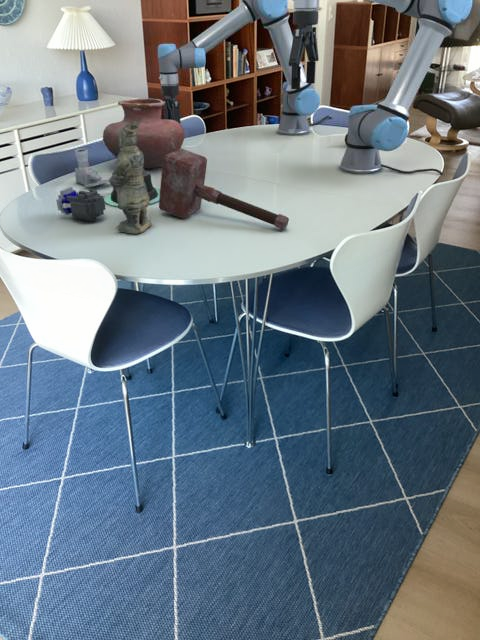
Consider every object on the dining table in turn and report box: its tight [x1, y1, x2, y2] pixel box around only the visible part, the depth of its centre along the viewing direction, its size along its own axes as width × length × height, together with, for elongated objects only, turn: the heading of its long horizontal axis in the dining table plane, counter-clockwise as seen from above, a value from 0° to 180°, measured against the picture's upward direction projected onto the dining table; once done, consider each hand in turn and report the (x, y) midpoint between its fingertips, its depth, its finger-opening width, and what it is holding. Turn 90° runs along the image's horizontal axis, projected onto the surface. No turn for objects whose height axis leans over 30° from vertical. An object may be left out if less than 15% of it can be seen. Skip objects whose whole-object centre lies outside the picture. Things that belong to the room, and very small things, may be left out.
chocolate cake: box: [103, 168, 160, 207], centre depth 186 cm, size 15×19×20 cm
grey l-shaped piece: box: [74, 148, 110, 188], centre depth 197 cm, size 9×12×15 cm
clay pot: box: [102, 98, 186, 169], centre depth 213 cm, size 30×30×25 cm
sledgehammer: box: [158, 148, 290, 231], centre depth 163 cm, size 17×10×40 cm
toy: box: [56, 186, 107, 222], centre depth 168 cm, size 9×9×15 cm
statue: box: [108, 121, 153, 235], centre depth 154 cm, size 11×9×30 cm
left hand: (174, 140), depth 246 cm, fingers closed on canister, 6 cm apart
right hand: (303, 86), depth 177 cm, fingers open, 13 cm apart
